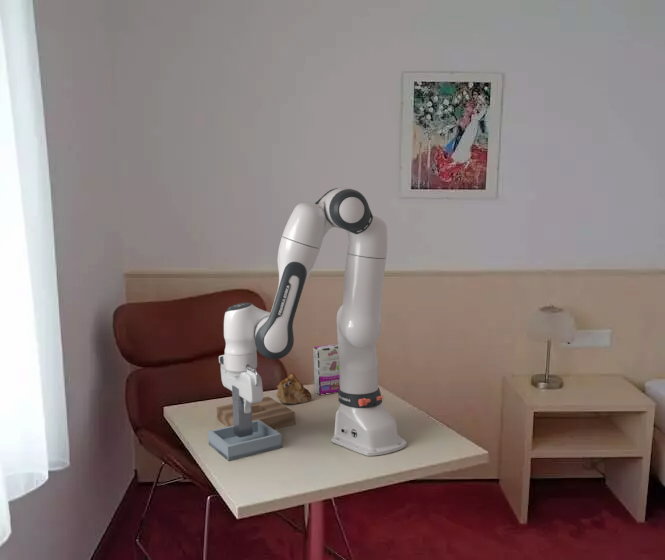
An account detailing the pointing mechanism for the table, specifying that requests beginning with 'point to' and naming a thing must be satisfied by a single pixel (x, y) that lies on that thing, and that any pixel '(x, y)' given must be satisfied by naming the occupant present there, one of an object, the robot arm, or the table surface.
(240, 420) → the pin
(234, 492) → the table surface
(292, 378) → the decorative rock
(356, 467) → the table surface
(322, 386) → the candy bar box
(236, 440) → the tray
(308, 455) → the table surface
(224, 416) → the block
